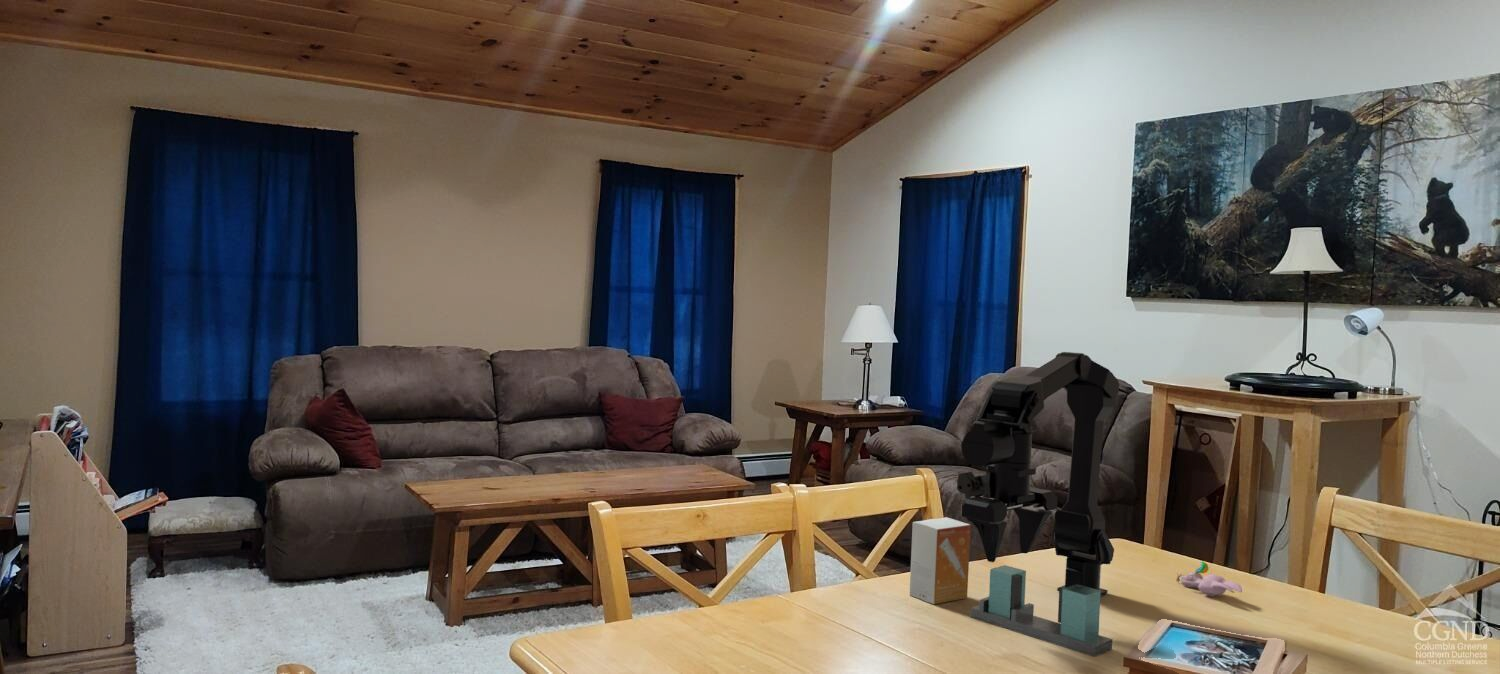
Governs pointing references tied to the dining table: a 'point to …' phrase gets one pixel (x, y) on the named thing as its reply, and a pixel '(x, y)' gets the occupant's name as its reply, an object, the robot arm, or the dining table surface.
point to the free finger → (1006, 590)
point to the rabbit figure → (1208, 582)
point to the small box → (940, 560)
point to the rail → (1073, 614)
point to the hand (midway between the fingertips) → (1007, 557)
